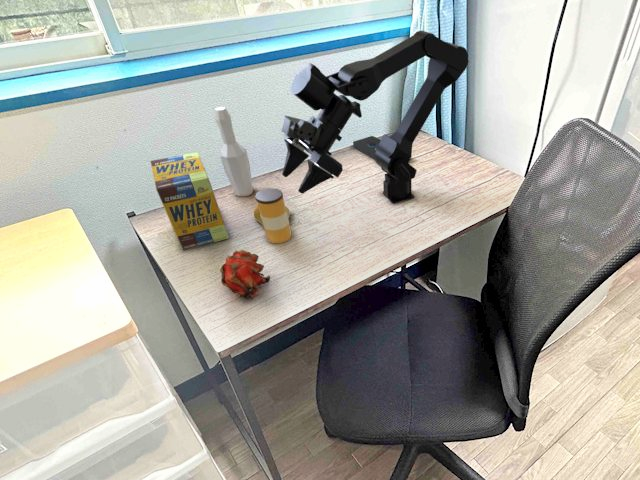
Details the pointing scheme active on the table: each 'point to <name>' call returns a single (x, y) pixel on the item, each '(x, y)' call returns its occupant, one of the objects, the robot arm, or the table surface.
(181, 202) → the protein box
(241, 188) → the low poly bottle
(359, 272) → the table surface
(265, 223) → the tube
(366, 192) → the table surface
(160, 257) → the table surface
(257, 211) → the bread roll
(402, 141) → the robot arm
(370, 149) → the smart home device
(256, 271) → the dragon fruit
